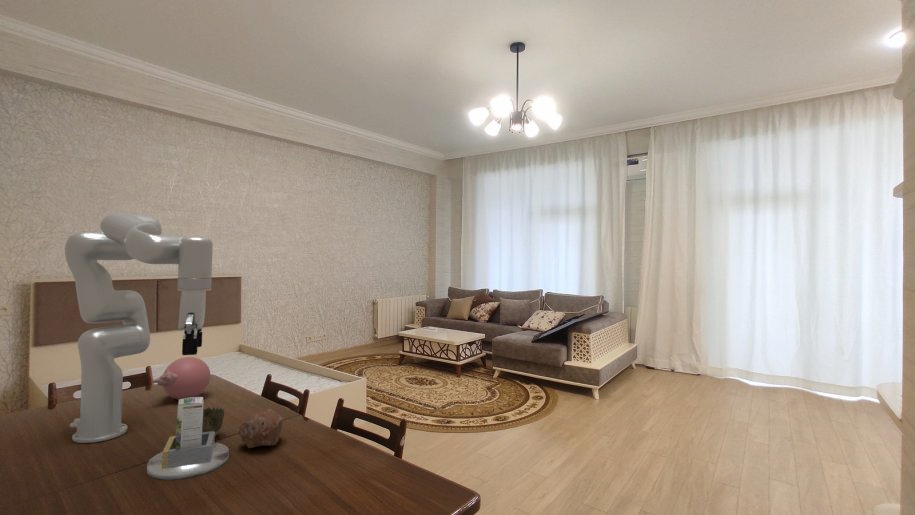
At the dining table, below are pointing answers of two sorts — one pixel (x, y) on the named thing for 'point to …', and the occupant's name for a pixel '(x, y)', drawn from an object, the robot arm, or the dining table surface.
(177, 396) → the inflated balloon
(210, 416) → the dark green lumpy clump
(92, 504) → the dining table surface
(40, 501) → the dining table surface
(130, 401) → the dining table surface
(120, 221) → the robot arm
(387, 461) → the dining table surface
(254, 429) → the decorative rock
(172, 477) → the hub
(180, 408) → the syrup box
